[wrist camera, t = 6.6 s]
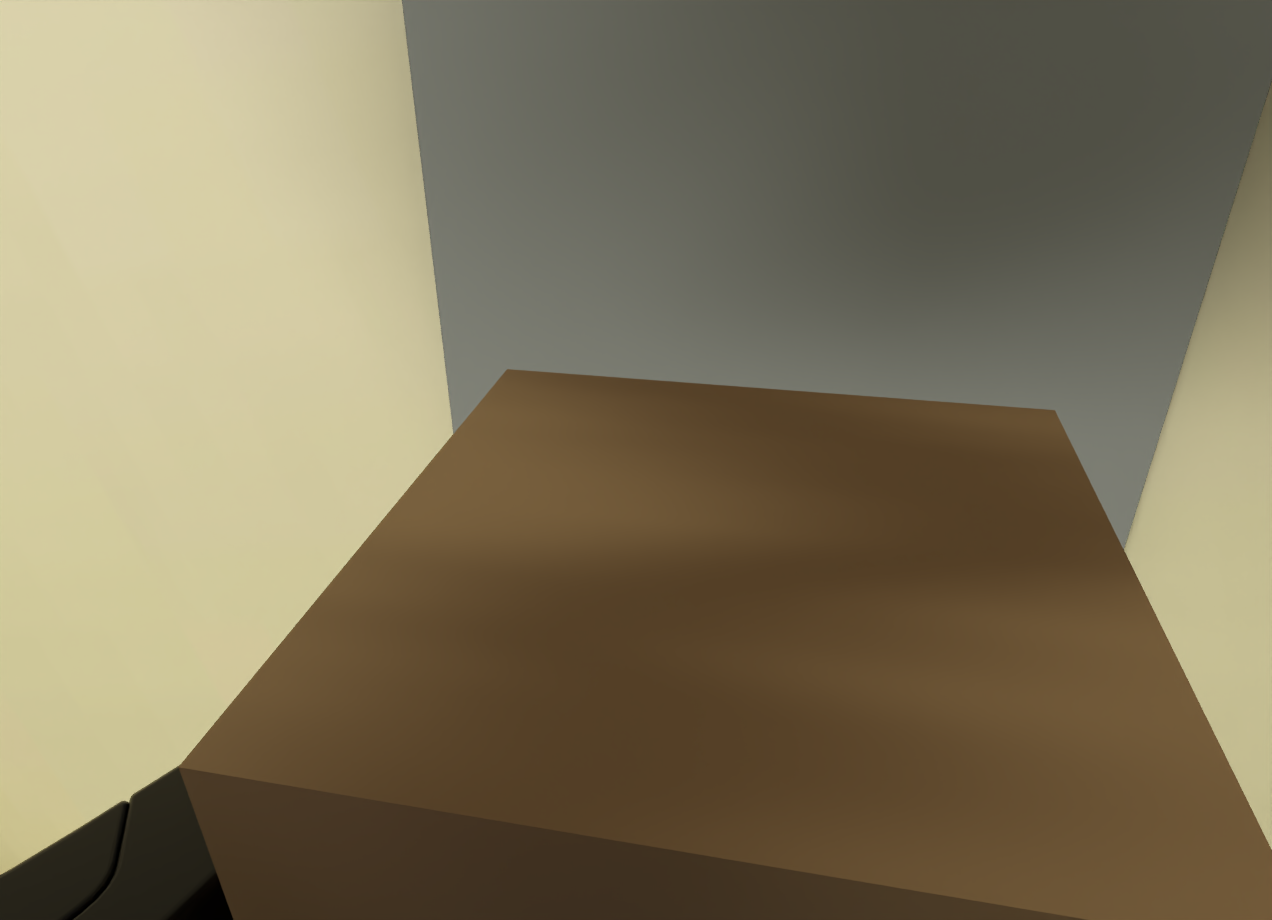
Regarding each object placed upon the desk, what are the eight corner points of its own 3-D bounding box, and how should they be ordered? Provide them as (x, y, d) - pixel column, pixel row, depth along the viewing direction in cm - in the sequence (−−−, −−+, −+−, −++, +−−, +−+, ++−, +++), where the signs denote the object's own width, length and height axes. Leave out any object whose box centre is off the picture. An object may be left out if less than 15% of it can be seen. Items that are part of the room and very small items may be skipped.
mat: (1319, -130, 13) (1339, -134, 12) (1084, 633, 19) (1091, 651, 19) (404, -108, 15) (388, -112, 15) (479, 563, 22) (470, 578, 21)
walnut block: (1054, 410, 8) (1326, 959, 3) (957, 804, 10) (1045, 1416, 6) (507, 369, 9) (179, 766, 4) (537, 740, 11) (346, 1233, 7)
